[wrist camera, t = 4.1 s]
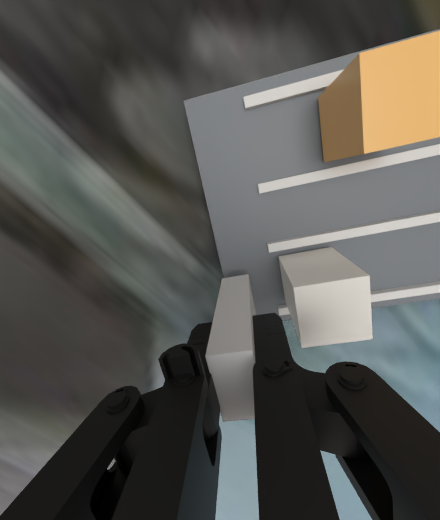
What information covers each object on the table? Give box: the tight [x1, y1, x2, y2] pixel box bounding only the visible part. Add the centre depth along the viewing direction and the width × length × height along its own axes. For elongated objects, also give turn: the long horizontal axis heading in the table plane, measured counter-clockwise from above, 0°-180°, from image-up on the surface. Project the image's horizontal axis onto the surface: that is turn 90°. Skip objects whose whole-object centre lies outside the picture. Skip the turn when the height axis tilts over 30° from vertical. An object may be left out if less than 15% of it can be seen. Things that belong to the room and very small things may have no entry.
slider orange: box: [318, 31, 440, 162], centre depth 10 cm, size 3×3×4 cm
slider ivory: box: [278, 247, 373, 348], centre depth 13 cm, size 3×3×4 cm
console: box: [184, 29, 440, 321], centre depth 13 cm, size 23×14×4 cm, turn 102°
